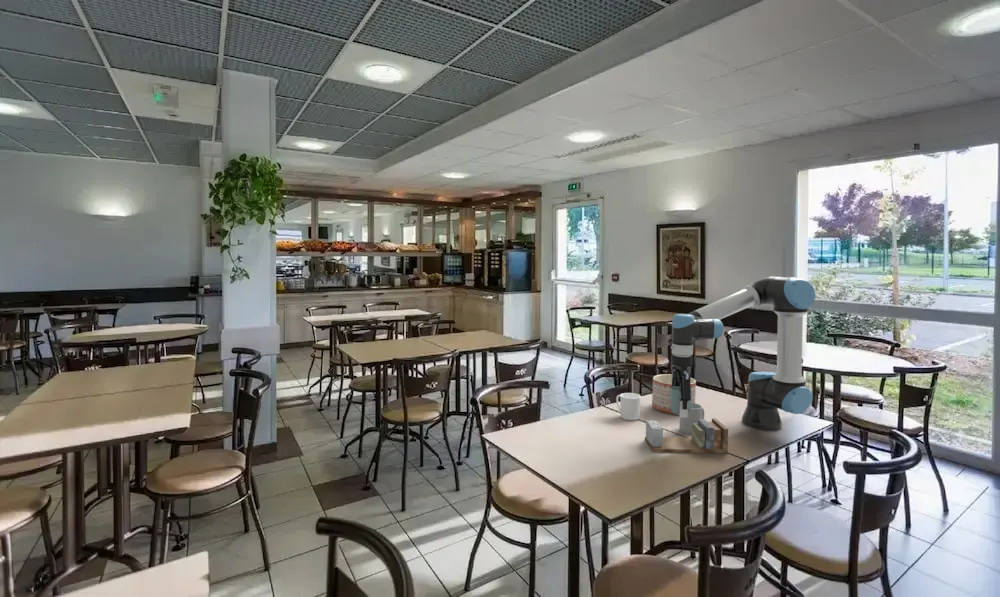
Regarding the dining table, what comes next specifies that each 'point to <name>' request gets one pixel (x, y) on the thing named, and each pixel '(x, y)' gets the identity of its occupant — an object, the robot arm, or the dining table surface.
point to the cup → (677, 400)
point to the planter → (666, 392)
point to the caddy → (698, 439)
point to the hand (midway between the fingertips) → (679, 413)
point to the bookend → (654, 433)
